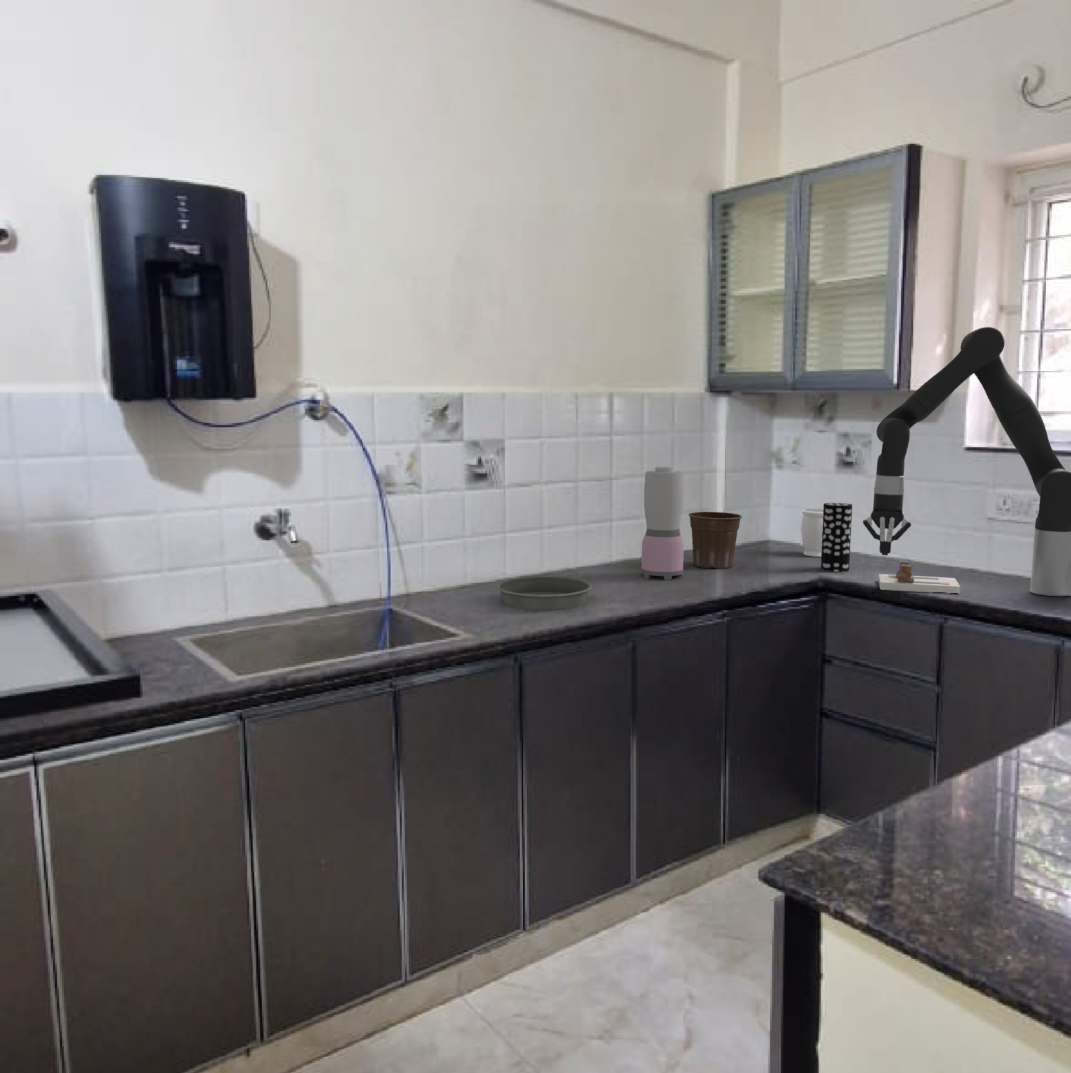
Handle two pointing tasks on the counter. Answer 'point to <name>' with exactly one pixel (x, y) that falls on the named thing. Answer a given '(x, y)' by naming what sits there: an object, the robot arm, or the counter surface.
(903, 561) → the charcoal tab
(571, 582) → the cake pan
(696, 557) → the plant pot
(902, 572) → the brown tab
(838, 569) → the white-spotted black cylinder
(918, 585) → the switch panel
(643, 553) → the blender
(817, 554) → the jar
